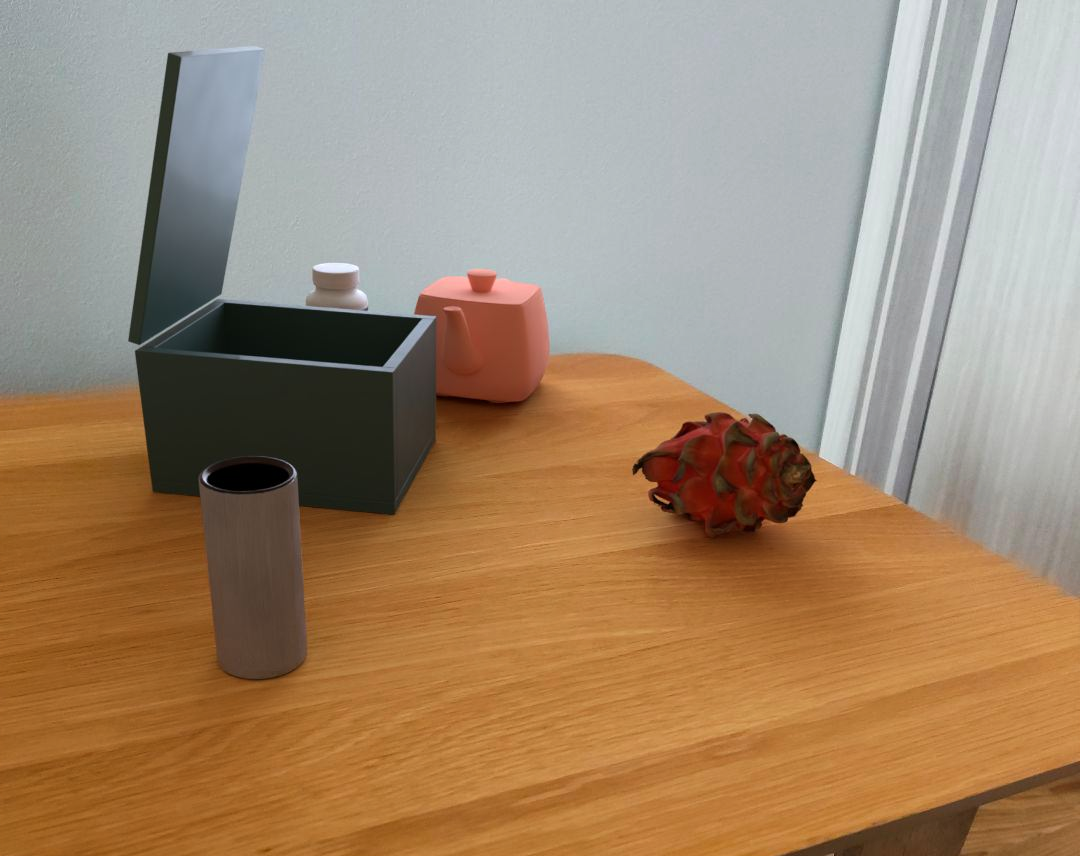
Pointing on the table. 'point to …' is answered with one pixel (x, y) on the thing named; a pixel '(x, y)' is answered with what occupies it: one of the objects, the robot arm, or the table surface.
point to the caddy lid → (194, 183)
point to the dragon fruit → (729, 473)
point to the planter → (254, 565)
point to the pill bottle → (337, 287)
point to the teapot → (487, 336)
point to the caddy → (293, 398)
